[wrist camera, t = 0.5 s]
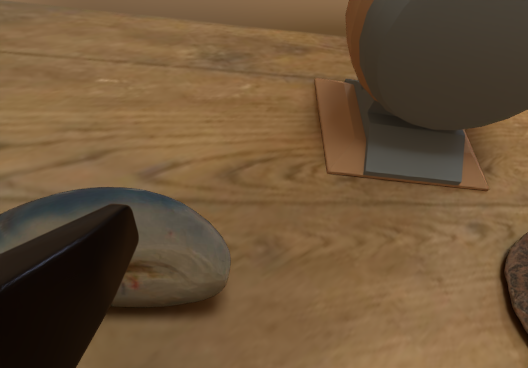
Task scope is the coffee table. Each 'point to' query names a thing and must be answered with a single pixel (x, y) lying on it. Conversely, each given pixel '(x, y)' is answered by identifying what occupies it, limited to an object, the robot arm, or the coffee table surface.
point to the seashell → (149, 245)
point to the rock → (518, 278)
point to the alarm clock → (424, 88)
